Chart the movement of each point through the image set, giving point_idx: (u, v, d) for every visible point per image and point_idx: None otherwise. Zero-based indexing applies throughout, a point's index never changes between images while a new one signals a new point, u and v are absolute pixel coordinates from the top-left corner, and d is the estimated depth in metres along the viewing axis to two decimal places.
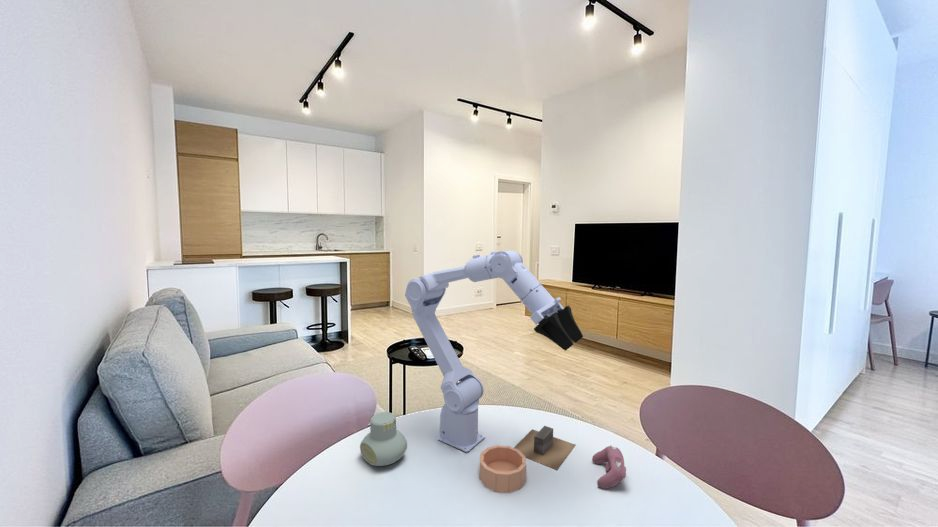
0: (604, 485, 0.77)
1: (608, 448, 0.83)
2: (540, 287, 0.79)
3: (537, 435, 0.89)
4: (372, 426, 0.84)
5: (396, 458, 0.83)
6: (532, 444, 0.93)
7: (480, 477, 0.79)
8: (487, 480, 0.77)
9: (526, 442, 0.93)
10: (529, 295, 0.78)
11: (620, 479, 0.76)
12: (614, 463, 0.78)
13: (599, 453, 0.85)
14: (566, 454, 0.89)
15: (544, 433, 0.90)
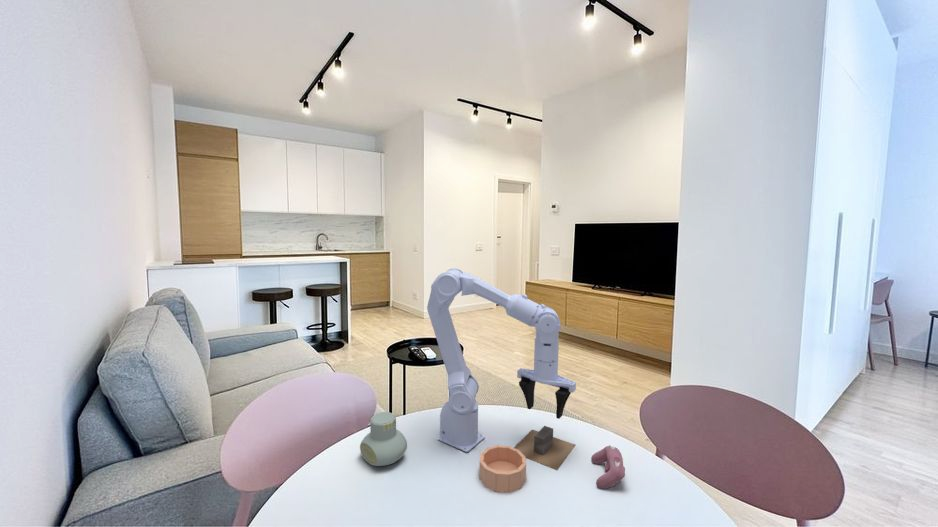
0: (603, 485, 0.77)
1: (607, 448, 0.83)
2: None
3: (537, 435, 0.89)
4: (372, 426, 0.84)
5: (396, 458, 0.83)
6: (532, 444, 0.93)
7: (480, 477, 0.79)
8: (487, 480, 0.77)
9: (526, 442, 0.93)
10: (557, 362, 0.88)
11: (619, 479, 0.76)
12: (613, 463, 0.78)
13: (598, 453, 0.85)
14: (566, 454, 0.89)
15: (544, 433, 0.90)
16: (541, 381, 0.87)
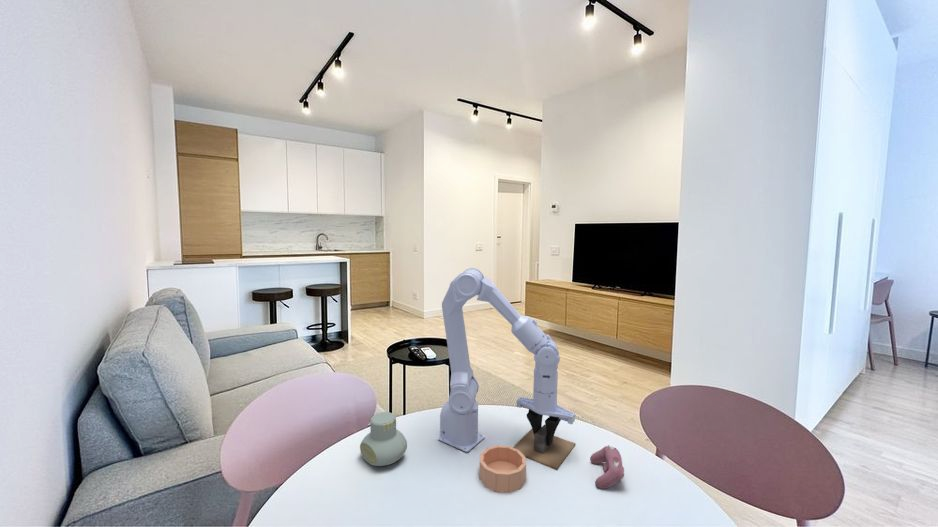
0: (602, 485, 0.77)
1: (606, 448, 0.83)
2: None
3: (537, 434, 0.89)
4: (372, 426, 0.84)
5: (396, 458, 0.83)
6: (532, 443, 0.93)
7: (480, 477, 0.79)
8: (487, 480, 0.77)
9: (526, 441, 0.93)
10: (556, 393, 0.88)
11: (618, 479, 0.76)
12: (612, 463, 0.78)
13: (597, 453, 0.85)
14: (566, 453, 0.89)
15: (544, 432, 0.90)
16: (540, 412, 0.88)
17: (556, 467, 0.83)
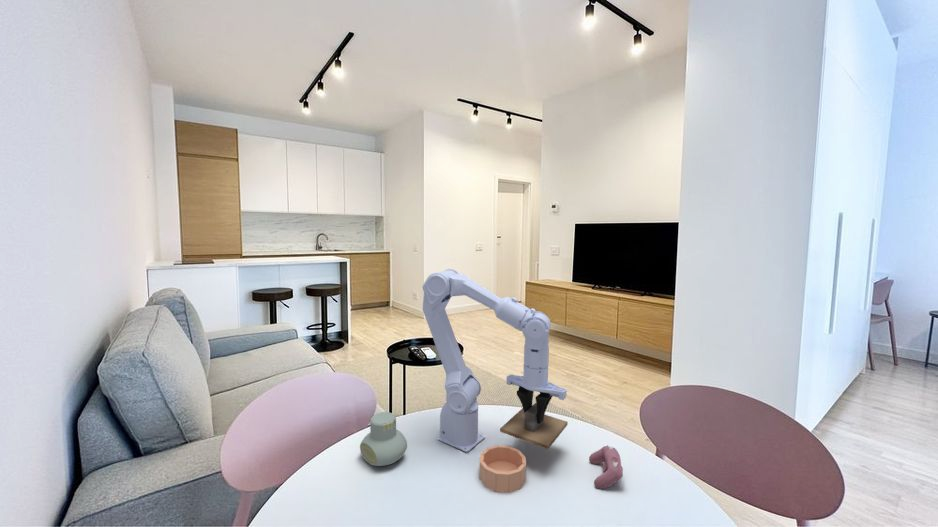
0: (600, 485, 0.77)
1: (605, 448, 0.83)
2: None
3: (528, 412, 0.86)
4: (372, 426, 0.84)
5: (396, 458, 0.83)
6: (523, 422, 0.89)
7: (480, 477, 0.79)
8: (487, 480, 0.77)
9: (517, 420, 0.90)
10: (547, 368, 0.85)
11: (617, 479, 0.76)
12: (611, 463, 0.78)
13: (596, 453, 0.85)
14: (558, 431, 0.85)
15: (534, 410, 0.87)
16: (531, 388, 0.84)
17: (547, 445, 0.80)
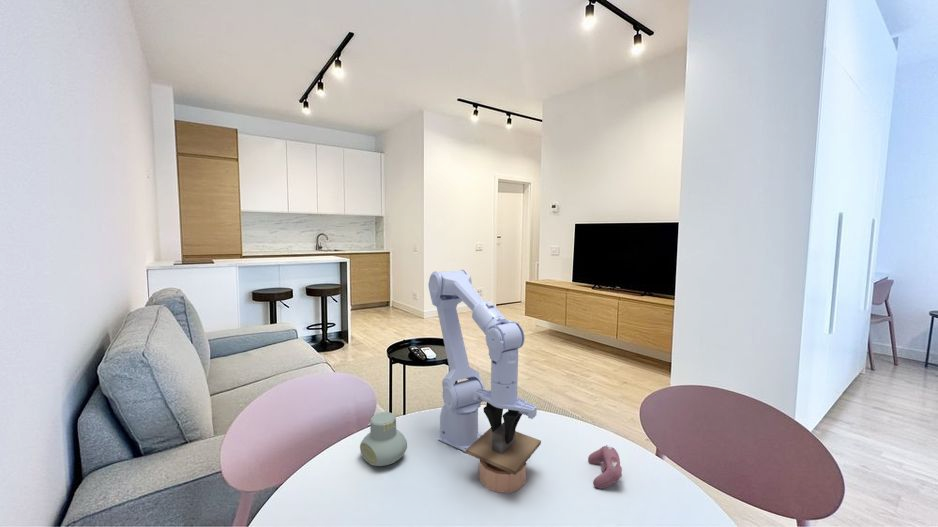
0: (600, 485, 0.77)
1: (604, 448, 0.83)
2: None
3: (495, 431, 0.79)
4: (372, 426, 0.84)
5: (396, 458, 0.83)
6: (492, 441, 0.82)
7: (480, 477, 0.79)
8: (487, 480, 0.77)
9: (486, 439, 0.83)
10: (516, 383, 0.77)
11: (616, 479, 0.76)
12: (610, 463, 0.78)
13: (595, 453, 0.85)
14: (528, 452, 0.78)
15: (503, 429, 0.80)
16: (497, 405, 0.77)
17: (514, 470, 0.73)
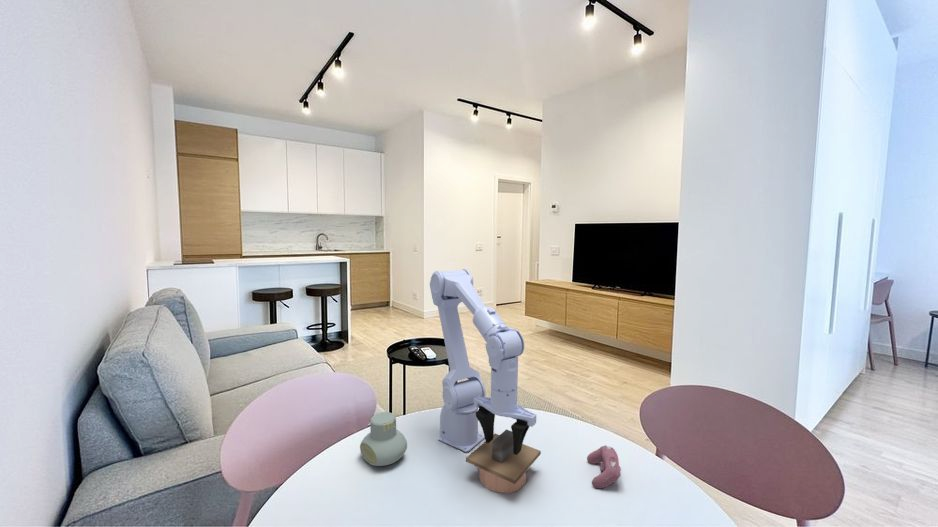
0: (598, 485, 0.77)
1: (603, 448, 0.83)
2: None
3: (496, 440, 0.79)
4: (372, 426, 0.84)
5: (396, 458, 0.83)
6: (492, 450, 0.82)
7: (480, 477, 0.79)
8: (487, 480, 0.77)
9: (486, 448, 0.83)
10: (516, 391, 0.78)
11: (615, 479, 0.76)
12: (609, 463, 0.78)
13: (594, 453, 0.85)
14: (528, 462, 0.78)
15: (504, 438, 0.80)
16: (497, 413, 0.77)
17: (514, 479, 0.73)
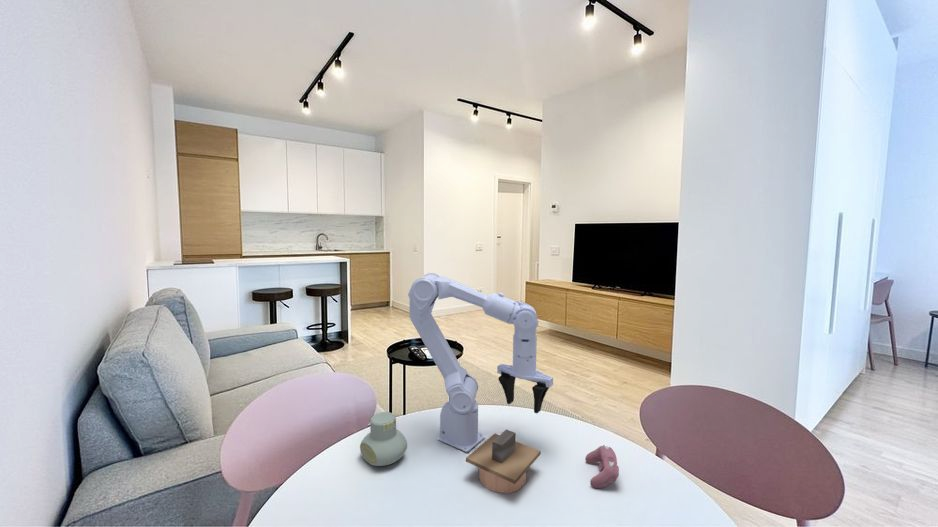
0: (597, 485, 0.77)
1: (601, 448, 0.83)
2: None
3: (496, 440, 0.79)
4: (372, 426, 0.84)
5: (396, 458, 0.83)
6: (492, 450, 0.82)
7: (480, 477, 0.79)
8: (487, 480, 0.77)
9: (486, 448, 0.83)
10: (535, 357, 0.89)
11: (613, 479, 0.76)
12: (607, 463, 0.78)
13: (592, 453, 0.85)
14: (528, 462, 0.78)
15: (504, 438, 0.80)
16: (519, 376, 0.88)
17: (514, 479, 0.73)
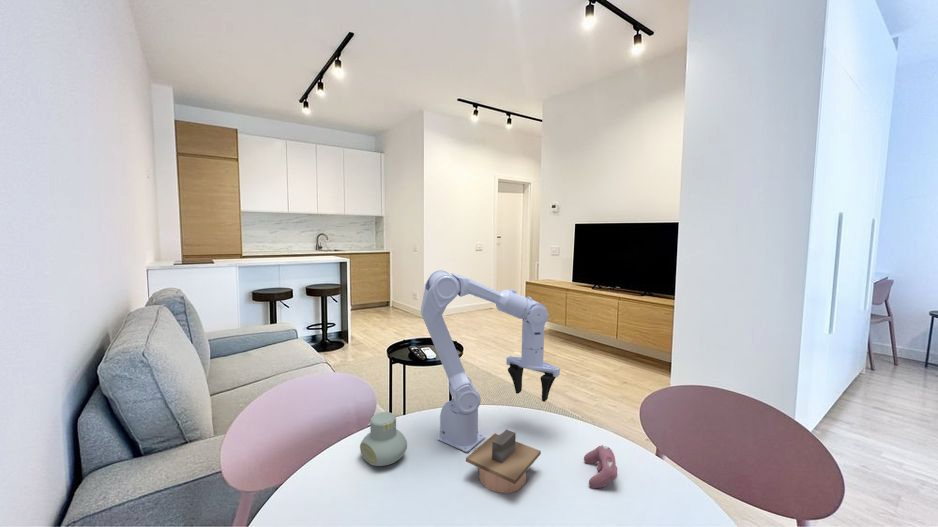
0: (595, 485, 0.77)
1: (599, 448, 0.83)
2: None
3: (496, 440, 0.79)
4: (372, 426, 0.84)
5: (396, 458, 0.83)
6: (492, 450, 0.82)
7: (480, 477, 0.79)
8: (487, 480, 0.77)
9: (486, 448, 0.83)
10: (543, 349, 0.95)
11: (611, 479, 0.76)
12: (605, 463, 0.78)
13: (591, 453, 0.85)
14: (528, 462, 0.78)
15: (504, 438, 0.80)
16: (528, 367, 0.94)
17: (514, 479, 0.73)
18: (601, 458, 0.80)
